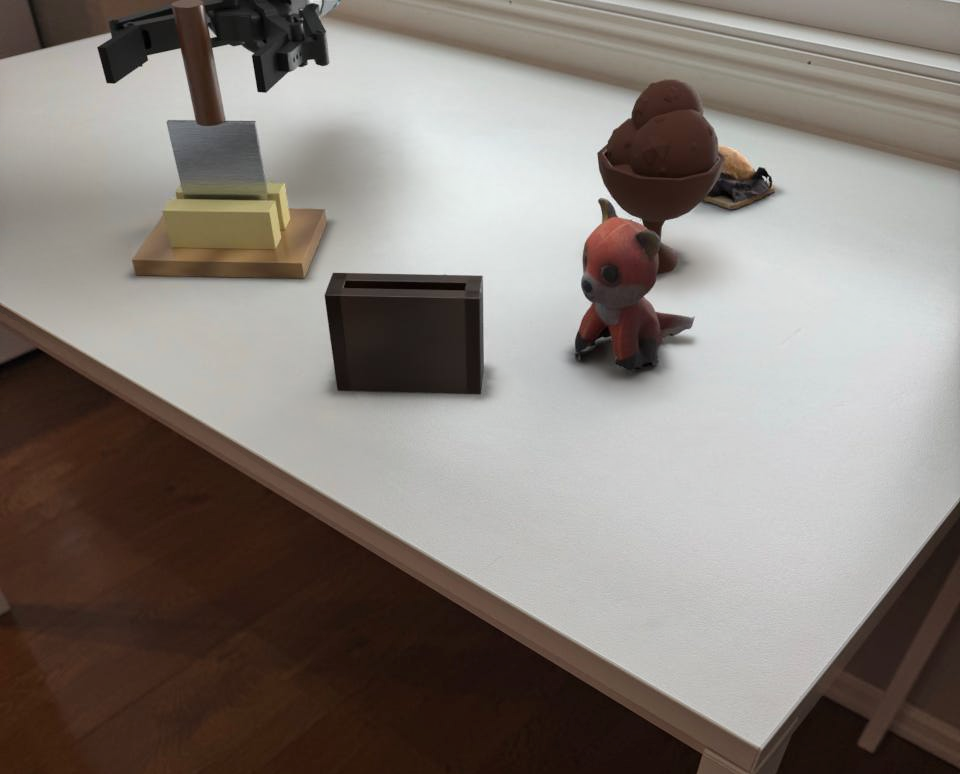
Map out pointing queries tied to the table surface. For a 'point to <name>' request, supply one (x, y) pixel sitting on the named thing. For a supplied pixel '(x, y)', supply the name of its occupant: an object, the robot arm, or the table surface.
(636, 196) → the ice cream bowl
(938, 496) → the table surface
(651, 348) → the stuffed fox
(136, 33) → the robot arm
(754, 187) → the tan mound on tray
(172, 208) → the butter
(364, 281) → the knife block
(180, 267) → the board
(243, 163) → the cleaver knife
